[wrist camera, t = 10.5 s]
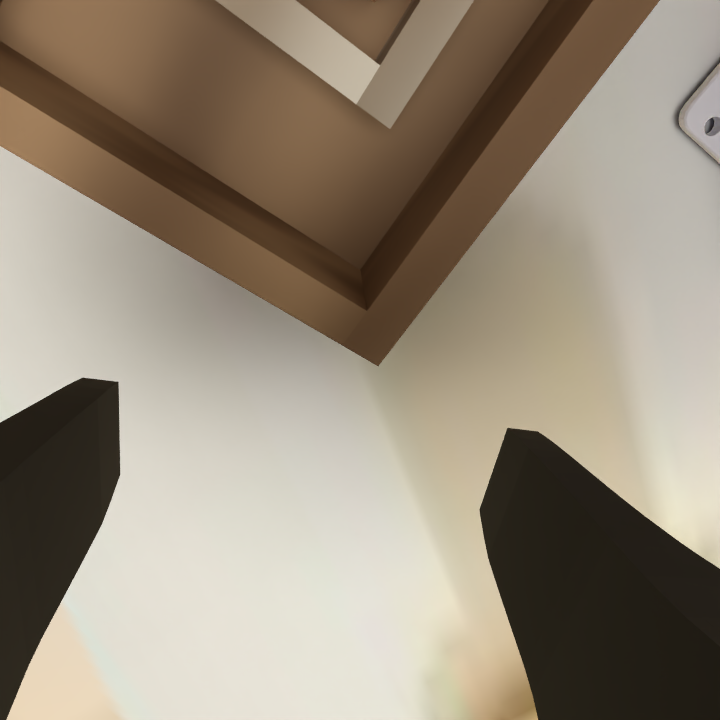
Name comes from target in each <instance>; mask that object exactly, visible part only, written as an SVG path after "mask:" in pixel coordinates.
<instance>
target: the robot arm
mask: <svg viewBox="0 0 720 720" xmlns="http://www.w3.org/2000/svg"><path fill="white" fill-rule="evenodd" d="M712 117H713V119H714V127H713V128H712V130H711V131H710V132H709V133H707V134H706V133H705V132H704V126H705V124H706V122H707V121H708V120H709V119H710V118H712ZM678 119H679V126H680V127H681V129H682V130H683V131H684V132H685V133H686V134H687V135H688V136H690V137H691V138H692V139H693V140H694V141H695V142H696V143H697V144H698V145H700V146H701V147H702V148H703V149H704V150H705V151H706V152H707V153H708V154H709V155H711V156H712V157H713V158H714V159H715V160H716V161H717V162H718V163H719V164H720V63H719V64H718V65H717V66H716V68H715V69H714V70H713V71H712V72H711V74H710V75H709V76H708V77H707V78H706V80H705V81H704V82H703V83H702V84H701V86H700V87H699V88H698V89H697V90H696V91H695V93H694V94H693V95H692V96H691V97H690V99H689V100H688V101H687V102H686V103H685V105H684V106H683V108H682V109H681V111H680V114H679V118H678ZM119 476H120V441H119V389H118V382H114V381H106V380H97V379H89V378H81V379H79V380H77V381H75V382H73V383H71V384H69V385H67V386H65V387H63V388H62V389H60V390H58V391H56V392H54V393H53V394H51V395H49V396H47V397H46V398H44V399H42V400H40V401H38V402H37V403H35V404H33V405H31V406H30V407H28V408H26V409H24V410H22V411H21V412H19V413H17V414H15V415H13V416H11V417H10V418H8V419H6V420H4V421H2V422H1V423H0V720H6V719H7V717H8V714H9V712H10V709H11V707H12V704H13V702H14V699H15V697H16V695H17V692H18V689H19V687H20V685H21V682H22V680H23V678H24V675H25V672H26V670H27V668H28V666H29V663H30V661H31V659H32V657H33V655H34V653H35V651H36V649H37V647H38V645H39V643H40V641H41V638H42V637H43V635H44V633H45V631H46V629H47V627H48V625H49V623H50V622H51V619H52V618H53V616H54V614H55V612H56V610H57V608H58V606H59V605H60V603H61V601H62V599H63V597H64V595H65V593H66V591H67V590H68V588H69V586H70V584H71V582H72V580H73V578H74V576H75V575H76V573H77V571H78V569H79V567H80V565H81V563H82V561H83V559H84V558H85V556H86V554H87V552H88V550H89V548H90V546H91V544H92V542H93V540H94V538H95V536H96V534H97V533H98V531H99V529H100V527H101V525H102V522H103V520H104V517H105V515H106V512H107V509H108V507H109V504H110V502H111V499H112V496H113V493H114V490H115V487H116V485H117V482H118V479H119ZM480 516H481V522H482V528H483V534H484V539H485V544H486V549H487V554H488V559H489V562H490V565H491V568H492V571H493V574H494V578H495V581H496V584H497V587H498V590H499V593H500V596H501V599H502V602H503V605H504V608H505V611H506V614H507V617H508V620H509V623H510V626H511V629H512V632H513V635H514V637H515V640H516V643H517V646H518V649H519V652H520V655H521V658H522V661H523V664H524V667H525V670H526V674H527V677H528V681H529V684H530V687H531V691H532V694H533V698H534V703H535V707H536V711H537V716H538V720H720V569H719V568H718V567H716V566H715V565H713V564H712V563H710V562H708V561H707V560H705V559H704V558H702V557H701V556H699V555H698V554H696V553H695V552H693V551H692V550H690V549H689V548H688V547H686V546H685V545H683V544H682V543H680V542H679V541H677V540H676V539H675V538H673V537H672V536H671V535H669V534H668V533H667V532H665V531H664V530H663V529H661V528H660V527H659V526H657V525H656V524H654V523H653V522H652V521H650V520H649V519H648V518H646V517H645V516H644V515H642V514H641V513H640V512H639V511H637V510H636V509H635V508H633V507H632V506H631V505H630V504H628V503H627V502H626V501H625V500H623V499H622V498H621V497H620V496H618V495H617V494H616V493H615V492H613V491H612V490H611V489H610V488H608V487H607V486H606V485H605V484H604V483H602V482H601V481H600V480H599V479H597V478H596V477H595V476H594V475H593V474H591V473H590V472H589V471H588V470H587V469H585V468H584V467H583V466H582V465H581V464H579V463H578V462H577V461H576V460H575V459H573V458H572V457H571V456H570V455H568V454H567V453H566V452H565V451H563V450H562V449H561V448H560V447H558V446H557V445H556V444H555V443H553V442H552V441H551V440H549V439H548V438H547V437H545V436H544V435H542V434H541V433H539V432H537V431H529V430H520V429H512V428H507V431H506V434H505V437H504V440H503V443H502V446H501V449H500V452H499V454H498V457H497V460H496V463H495V466H494V469H493V472H492V475H491V478H490V481H489V484H488V487H487V490H486V492H485V495H484V498H483V501H482V504H481V507H480Z"/></svg>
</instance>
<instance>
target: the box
mask: <svg viewBox="0 0 720 720" xmlns="http://www.w3.org/2000/svg"><path fill="white" fill-rule="evenodd" d="M659 1H660V0H376V1H375V2H373V1H372V0H0V146H1V147H3V148H5V149H7V150H8V151H10V152H12V153H13V154H15V155H17V156H19V157H20V158H22V159H24V160H25V161H27V162H29V163H31V164H32V165H34V166H36V167H37V168H39V169H41V170H43V171H44V172H46V173H48V174H49V175H51V176H53V177H55V178H56V179H58V180H60V181H61V182H63V183H65V184H67V185H68V186H70V187H72V188H73V189H75V190H77V191H79V192H80V193H82V194H84V195H85V196H87V197H89V198H91V199H92V200H94V201H96V202H97V203H99V204H101V205H103V206H104V207H106V208H108V209H109V210H111V211H113V212H115V213H116V214H118V215H120V216H121V217H123V218H125V219H127V220H128V221H130V222H132V223H133V224H135V225H137V226H139V227H140V228H142V229H144V230H145V231H147V232H149V233H151V234H152V235H154V236H156V237H157V238H159V239H161V240H163V241H164V242H166V243H168V244H169V245H171V246H173V247H175V248H176V249H178V250H180V251H181V252H183V253H185V254H187V255H188V256H190V257H192V258H193V259H195V260H197V261H199V262H200V263H202V264H204V265H205V266H207V267H209V268H211V269H212V270H214V271H216V272H217V273H219V274H221V275H223V276H224V277H226V278H228V279H229V280H231V281H233V282H235V283H236V284H238V285H240V286H241V287H243V288H245V289H247V290H248V291H250V292H252V293H253V294H255V295H257V296H259V297H260V298H262V299H264V300H265V301H267V302H269V303H271V304H272V305H274V306H276V307H278V308H279V309H281V310H283V311H284V312H286V313H288V314H290V315H291V316H293V317H295V318H296V319H298V320H300V321H302V322H303V323H305V324H307V325H308V326H310V327H312V328H314V329H315V330H317V331H319V332H320V333H322V334H324V335H326V336H327V337H329V338H331V339H332V340H334V341H336V342H338V343H339V344H341V345H343V346H344V347H346V348H348V349H350V350H351V351H353V352H355V353H356V354H358V355H360V356H362V357H363V358H365V359H367V360H368V361H370V362H372V363H374V364H375V365H377V366H379V364H380V363H381V362H382V360H383V359H384V358H385V357H386V355H387V354H388V353H389V351H390V350H391V349H392V347H393V346H394V345H395V344H396V342H397V341H398V340H399V338H400V337H401V336H402V334H403V333H404V332H405V331H406V329H407V328H408V327H409V325H410V324H411V323H412V321H413V320H414V319H415V318H416V316H417V315H418V314H419V312H420V311H421V310H422V308H423V307H424V306H425V305H426V303H427V302H428V301H429V299H430V298H431V297H432V295H433V294H434V293H435V292H436V290H437V289H438V288H439V286H440V285H441V284H442V282H443V281H444V280H445V279H446V277H447V276H448V275H449V273H450V272H451V271H452V270H453V268H454V267H455V266H456V264H457V263H458V262H459V260H460V259H461V258H462V257H463V255H464V254H465V253H466V251H467V250H468V249H469V247H470V246H471V245H472V244H473V242H474V241H475V240H476V238H477V237H478V236H479V234H480V233H481V232H482V231H483V229H484V228H485V227H486V225H487V224H488V223H489V221H490V220H491V219H492V218H493V216H494V215H495V214H496V212H497V211H498V210H499V208H500V207H501V206H502V205H503V203H504V202H505V201H506V199H507V198H508V197H509V195H510V194H511V193H512V192H513V190H514V189H515V188H516V186H517V185H518V184H519V182H520V181H521V180H522V179H523V177H524V176H525V175H526V173H527V172H528V171H529V169H530V168H531V167H532V166H533V164H534V163H535V162H536V160H537V159H538V158H539V156H540V155H541V154H542V153H543V151H544V150H545V149H546V147H547V146H548V145H549V144H550V142H551V141H552V140H553V138H554V137H555V136H556V134H557V133H558V132H559V131H560V129H561V128H562V127H563V125H564V124H565V123H566V121H567V120H568V119H569V118H570V116H571V115H572V114H573V112H574V111H575V110H576V108H577V107H578V106H579V105H580V103H581V102H582V101H583V99H584V98H585V97H586V95H587V94H588V93H589V92H590V90H591V89H592V88H593V86H594V85H595V84H596V82H597V81H598V80H599V79H600V77H601V76H602V75H603V73H604V72H605V71H606V69H607V68H608V67H609V66H610V64H611V63H612V62H613V60H614V59H615V58H616V56H617V55H618V54H619V53H620V51H621V50H622V49H623V47H624V46H625V45H626V43H627V42H628V41H629V40H630V38H631V37H632V36H633V34H634V33H635V32H636V31H637V29H638V28H639V27H640V25H641V24H642V23H643V21H644V20H645V19H646V18H647V16H648V15H649V14H650V12H651V11H652V10H653V8H654V7H655V6H656V5H657V3H658V2H659Z"/></svg>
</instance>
